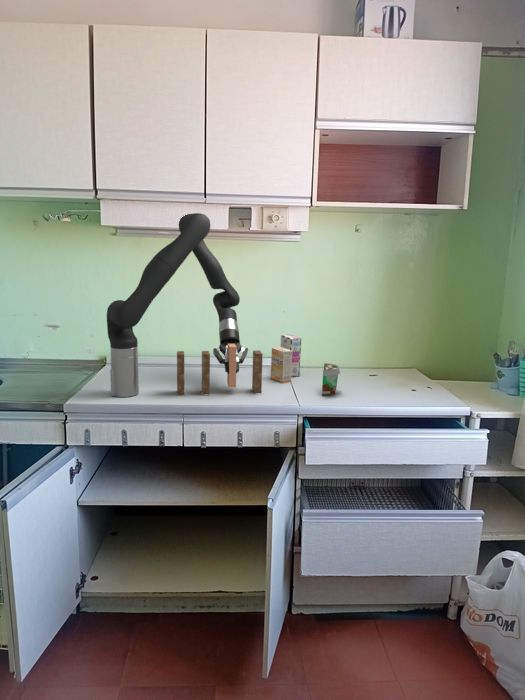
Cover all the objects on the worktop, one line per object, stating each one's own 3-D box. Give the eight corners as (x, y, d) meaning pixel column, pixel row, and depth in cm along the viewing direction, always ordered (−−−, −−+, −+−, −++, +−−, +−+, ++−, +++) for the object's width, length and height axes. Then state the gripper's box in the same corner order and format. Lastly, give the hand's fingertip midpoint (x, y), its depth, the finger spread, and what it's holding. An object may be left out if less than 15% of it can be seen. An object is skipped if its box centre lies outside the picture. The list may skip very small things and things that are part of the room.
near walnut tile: (177, 395, 176) (177, 354, 173) (177, 391, 181) (176, 351, 178) (184, 395, 176) (184, 354, 173) (184, 390, 182) (183, 351, 179)
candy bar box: (300, 376, 207) (301, 338, 204) (289, 377, 205) (290, 338, 202) (289, 370, 217) (290, 333, 214) (278, 371, 215) (280, 334, 212)
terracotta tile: (229, 387, 179) (229, 347, 175) (227, 383, 184) (227, 343, 181) (236, 387, 179) (236, 346, 176) (233, 382, 185) (234, 343, 182)
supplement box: (269, 378, 202) (270, 347, 200) (279, 377, 205) (280, 346, 203) (282, 383, 196) (283, 351, 193) (291, 381, 199) (293, 350, 196)
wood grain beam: (254, 393, 181) (255, 353, 178) (252, 389, 186) (253, 350, 183) (261, 393, 181) (262, 353, 178) (258, 389, 187) (259, 350, 184)
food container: (338, 398, 179) (340, 371, 177) (321, 396, 179) (323, 370, 177) (338, 388, 190) (340, 363, 188) (322, 387, 191) (324, 362, 189)
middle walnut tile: (202, 395, 177) (202, 354, 174) (201, 390, 183) (201, 350, 180) (209, 394, 178) (209, 354, 175) (208, 390, 183) (208, 350, 181)
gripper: (211, 327, 183) (214, 367, 174) (248, 327, 186) (252, 366, 177) (210, 339, 190) (212, 378, 180) (246, 338, 192) (250, 377, 183)
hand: (232, 372), depth 179 cm, fingers closed on terracotta tile, 2 cm apart
